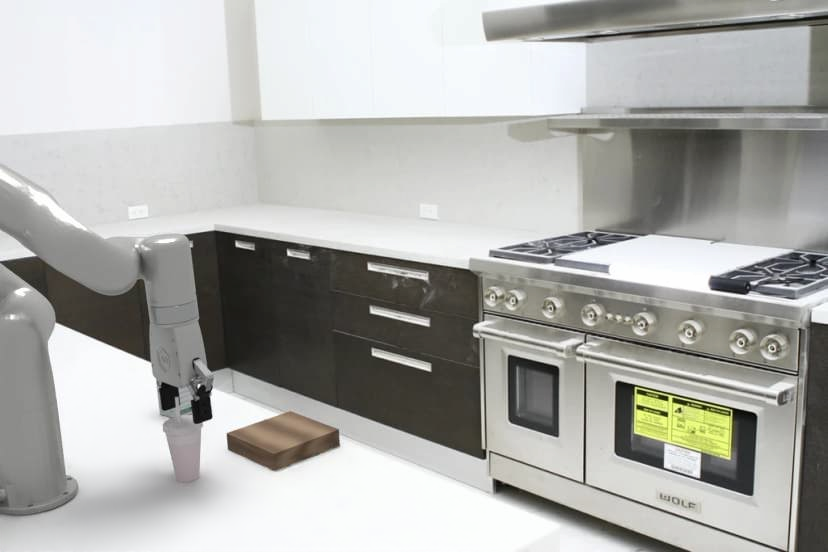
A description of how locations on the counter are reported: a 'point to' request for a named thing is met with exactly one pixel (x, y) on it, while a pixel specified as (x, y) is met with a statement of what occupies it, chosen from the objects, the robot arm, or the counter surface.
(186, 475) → the smoothie
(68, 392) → the counter surface
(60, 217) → the robot arm
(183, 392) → the syrup box
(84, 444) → the counter surface
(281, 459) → the walnut base
